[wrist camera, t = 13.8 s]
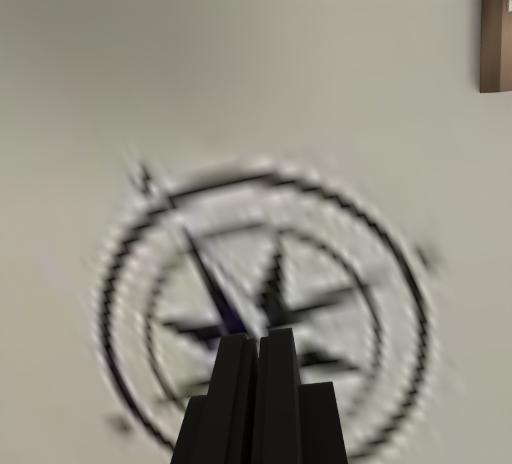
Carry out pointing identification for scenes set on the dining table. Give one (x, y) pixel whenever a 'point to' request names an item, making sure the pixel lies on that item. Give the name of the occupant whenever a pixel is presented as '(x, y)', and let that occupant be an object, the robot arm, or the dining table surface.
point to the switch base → (496, 46)
